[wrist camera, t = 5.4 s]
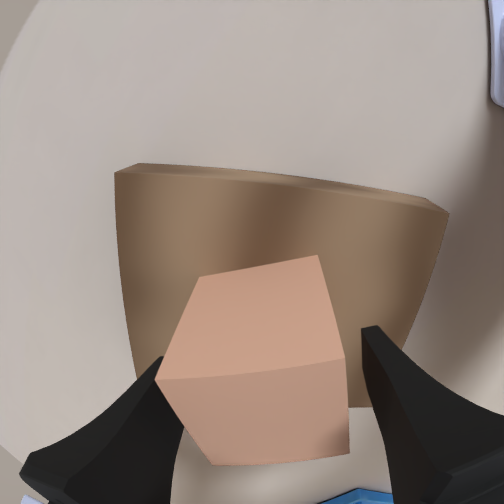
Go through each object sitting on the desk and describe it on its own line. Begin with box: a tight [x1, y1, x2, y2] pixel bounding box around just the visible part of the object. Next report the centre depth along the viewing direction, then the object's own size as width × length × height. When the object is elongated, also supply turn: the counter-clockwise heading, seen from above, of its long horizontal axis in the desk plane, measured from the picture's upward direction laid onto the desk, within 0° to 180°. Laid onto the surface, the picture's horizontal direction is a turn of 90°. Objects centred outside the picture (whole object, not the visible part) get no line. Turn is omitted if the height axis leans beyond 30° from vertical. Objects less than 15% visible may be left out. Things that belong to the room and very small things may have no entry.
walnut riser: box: [114, 163, 449, 408], centre depth 15 cm, size 14×12×2 cm
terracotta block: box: [155, 255, 350, 466], centre depth 11 cm, size 5×5×6 cm
